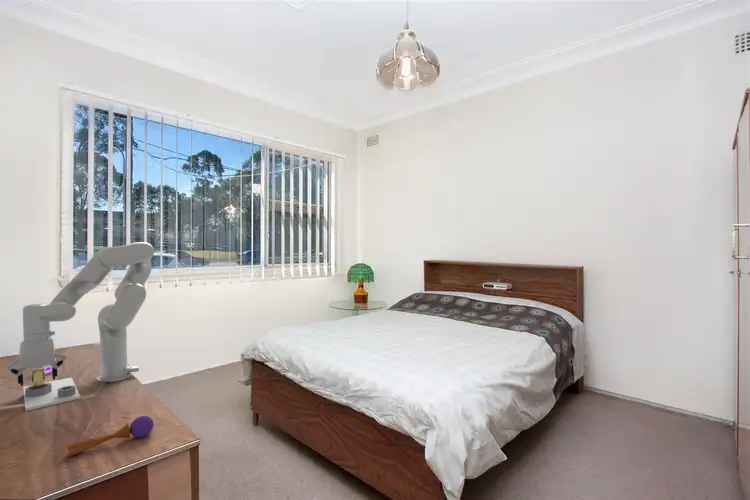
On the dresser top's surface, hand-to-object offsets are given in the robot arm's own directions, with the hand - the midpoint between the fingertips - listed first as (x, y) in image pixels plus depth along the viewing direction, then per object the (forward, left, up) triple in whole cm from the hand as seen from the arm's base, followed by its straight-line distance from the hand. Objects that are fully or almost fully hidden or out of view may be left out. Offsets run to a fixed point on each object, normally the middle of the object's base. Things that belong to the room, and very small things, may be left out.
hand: (38, 381), depth 144 cm
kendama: (-36, +54, -6) cm, 65 cm away
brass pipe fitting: (0, 0, -4) cm, 4 cm away
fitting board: (-4, 0, -5) cm, 6 cm away
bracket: (+8, -32, -6) cm, 34 cm away
